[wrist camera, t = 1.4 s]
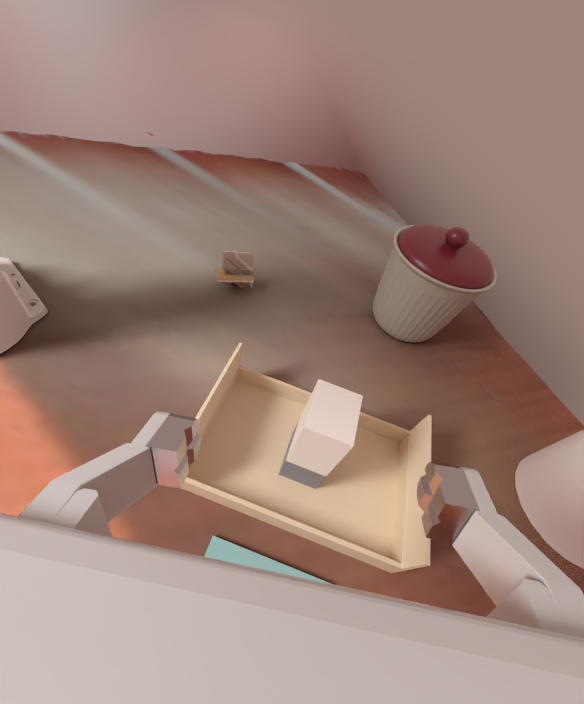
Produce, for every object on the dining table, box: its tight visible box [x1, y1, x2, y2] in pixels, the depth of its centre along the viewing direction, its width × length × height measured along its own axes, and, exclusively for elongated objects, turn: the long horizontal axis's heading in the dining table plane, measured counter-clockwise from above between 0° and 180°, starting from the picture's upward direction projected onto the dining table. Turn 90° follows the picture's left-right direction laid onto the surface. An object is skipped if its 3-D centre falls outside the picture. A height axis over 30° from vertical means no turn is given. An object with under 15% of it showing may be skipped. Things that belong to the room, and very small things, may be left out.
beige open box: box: [181, 343, 431, 573], centre depth 39 cm, size 17×27×8 cm, turn 73°
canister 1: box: [373, 224, 497, 343], centre depth 57 cm, size 18×18×21 cm
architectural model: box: [216, 251, 254, 289], centre depth 59 cm, size 3×7×7 cm, turn 103°
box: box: [278, 379, 363, 489], centre depth 37 cm, size 6×5×14 cm
